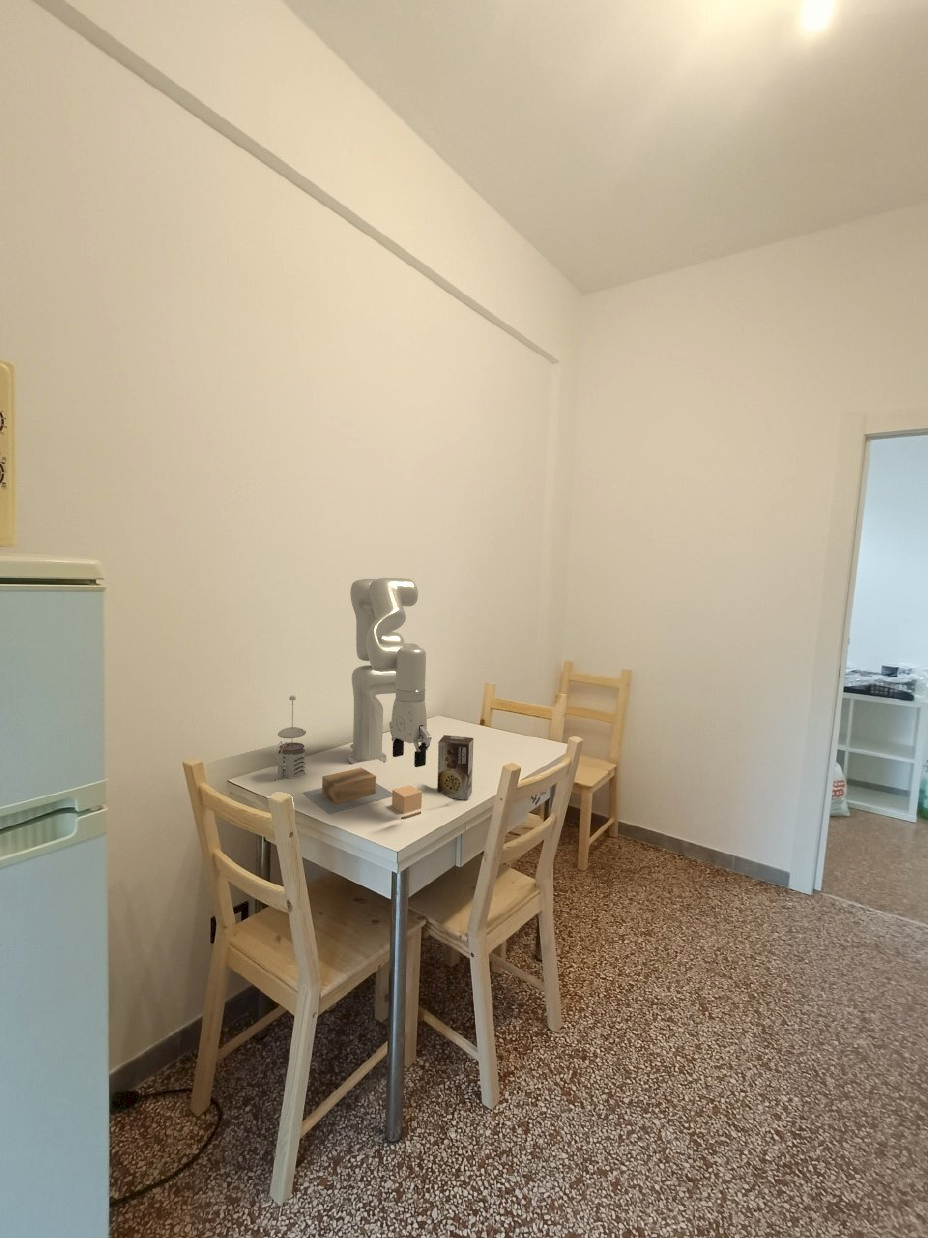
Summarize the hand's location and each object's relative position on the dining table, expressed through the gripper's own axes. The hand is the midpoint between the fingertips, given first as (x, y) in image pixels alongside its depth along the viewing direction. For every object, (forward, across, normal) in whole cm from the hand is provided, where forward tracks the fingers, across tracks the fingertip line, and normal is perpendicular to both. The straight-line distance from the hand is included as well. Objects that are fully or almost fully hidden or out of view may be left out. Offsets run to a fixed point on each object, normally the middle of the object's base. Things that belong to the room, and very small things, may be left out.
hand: (408, 761), depth 141 cm
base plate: (+14, -17, -8) cm, 23 cm away
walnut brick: (+12, -17, -8) cm, 22 cm away
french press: (+14, -40, -15) cm, 45 cm away
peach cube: (+14, -1, 0) cm, 14 cm away
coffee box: (+14, -3, +18) cm, 23 cm away
